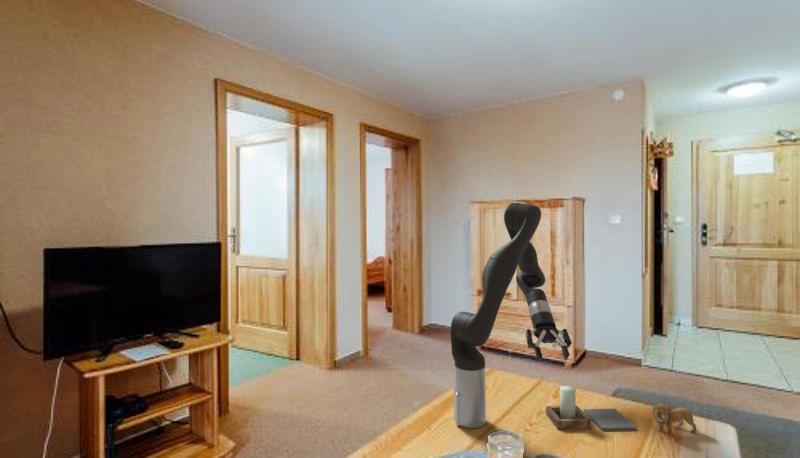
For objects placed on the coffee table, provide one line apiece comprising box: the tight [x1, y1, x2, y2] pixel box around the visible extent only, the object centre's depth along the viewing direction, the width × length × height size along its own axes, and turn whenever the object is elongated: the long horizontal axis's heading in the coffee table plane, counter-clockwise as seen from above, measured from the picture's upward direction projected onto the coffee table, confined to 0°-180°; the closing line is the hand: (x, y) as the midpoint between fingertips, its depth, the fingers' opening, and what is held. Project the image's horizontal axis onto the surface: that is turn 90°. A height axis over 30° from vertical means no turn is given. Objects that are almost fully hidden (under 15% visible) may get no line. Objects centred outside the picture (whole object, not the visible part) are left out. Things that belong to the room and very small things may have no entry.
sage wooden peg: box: [559, 385, 577, 419], centre depth 126 cm, size 4×4×10 cm
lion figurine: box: [652, 403, 697, 437], centre depth 119 cm, size 15×5×9 cm, turn 108°
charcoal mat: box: [582, 408, 637, 432], centre depth 126 cm, size 10×12×1 cm
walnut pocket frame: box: [545, 405, 592, 431], centre depth 126 cm, size 10×10×2 cm
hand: (553, 358), depth 137 cm, fingers open, 8 cm apart
